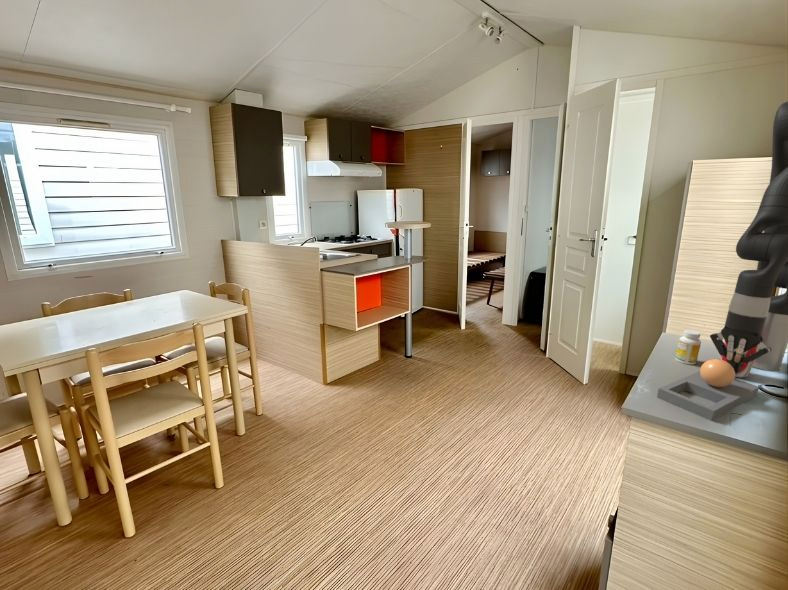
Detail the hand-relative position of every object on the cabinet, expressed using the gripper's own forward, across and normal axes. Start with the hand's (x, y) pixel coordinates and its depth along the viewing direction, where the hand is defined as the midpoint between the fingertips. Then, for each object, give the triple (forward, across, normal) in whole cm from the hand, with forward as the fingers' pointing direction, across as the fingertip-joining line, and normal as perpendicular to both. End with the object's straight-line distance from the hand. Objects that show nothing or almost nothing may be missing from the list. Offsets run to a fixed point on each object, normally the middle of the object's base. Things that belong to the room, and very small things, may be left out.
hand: (731, 373), depth 108 cm
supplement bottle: (+4, +14, -8) cm, 17 cm away
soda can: (+4, +3, -11) cm, 12 cm away
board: (+4, 0, +11) cm, 12 cm away
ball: (-2, 0, +9) cm, 9 cm away
